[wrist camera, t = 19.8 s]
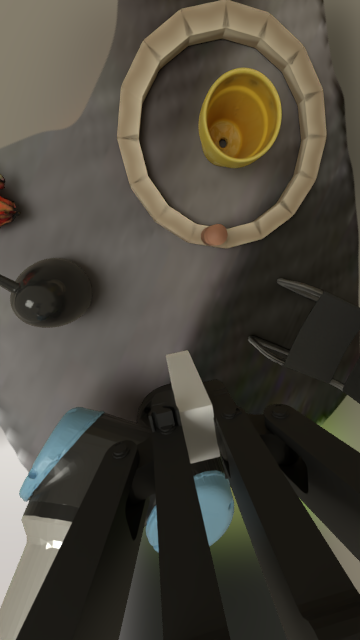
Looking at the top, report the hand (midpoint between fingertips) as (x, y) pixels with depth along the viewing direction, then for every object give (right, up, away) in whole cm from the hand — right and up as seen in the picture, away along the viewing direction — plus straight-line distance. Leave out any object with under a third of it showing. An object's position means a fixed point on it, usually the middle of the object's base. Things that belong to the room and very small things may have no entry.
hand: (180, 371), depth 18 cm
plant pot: (+7, +32, +25) cm, 41 cm away
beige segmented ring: (+7, +32, +25) cm, 41 cm away
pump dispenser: (-20, +9, +28) cm, 35 cm away
